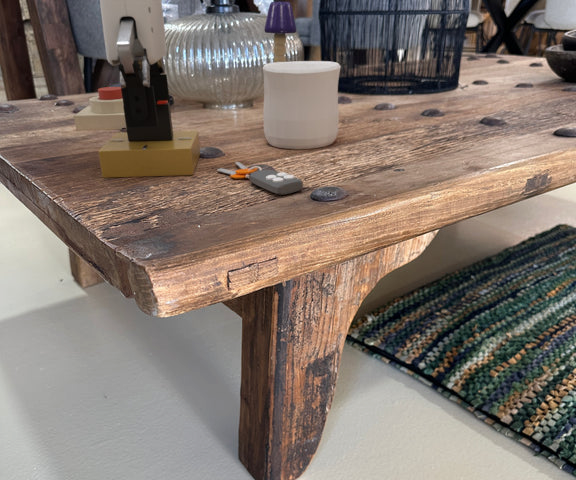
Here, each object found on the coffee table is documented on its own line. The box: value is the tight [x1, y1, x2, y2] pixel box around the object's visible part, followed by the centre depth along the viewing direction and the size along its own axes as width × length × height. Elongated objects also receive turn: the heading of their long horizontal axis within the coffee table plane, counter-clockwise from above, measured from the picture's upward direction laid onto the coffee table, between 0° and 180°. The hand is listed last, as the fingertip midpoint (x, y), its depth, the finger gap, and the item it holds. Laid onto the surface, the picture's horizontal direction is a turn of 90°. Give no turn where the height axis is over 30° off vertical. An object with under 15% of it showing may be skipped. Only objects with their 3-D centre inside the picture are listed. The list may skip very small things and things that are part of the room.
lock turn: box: [123, 100, 174, 141], centre depth 65 cm, size 5×1×4 cm, turn 93°
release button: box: [97, 86, 122, 100], centre depth 87 cm, size 4×4×2 cm
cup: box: [262, 60, 342, 150], centre depth 75 cm, size 10×10×10 cm
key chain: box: [216, 161, 304, 196], centre depth 61 cm, size 13×4×2 cm, turn 37°
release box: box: [73, 95, 126, 131], centre depth 88 cm, size 10×8×4 cm
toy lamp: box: [264, 1, 297, 63], centre depth 85 cm, size 5×5×17 cm
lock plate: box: [97, 130, 201, 179], centre depth 67 cm, size 10×9×3 cm
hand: (150, 117), depth 65 cm, fingers open, 9 cm apart
